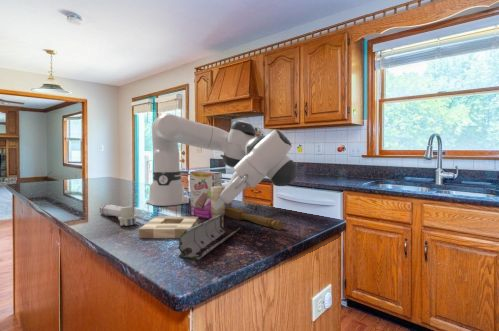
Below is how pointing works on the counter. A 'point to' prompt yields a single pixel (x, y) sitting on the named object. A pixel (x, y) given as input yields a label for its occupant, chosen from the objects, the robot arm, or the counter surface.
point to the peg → (214, 197)
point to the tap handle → (252, 218)
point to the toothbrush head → (119, 213)
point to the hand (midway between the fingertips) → (215, 205)
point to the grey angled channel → (202, 237)
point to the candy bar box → (203, 192)
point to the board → (167, 227)
